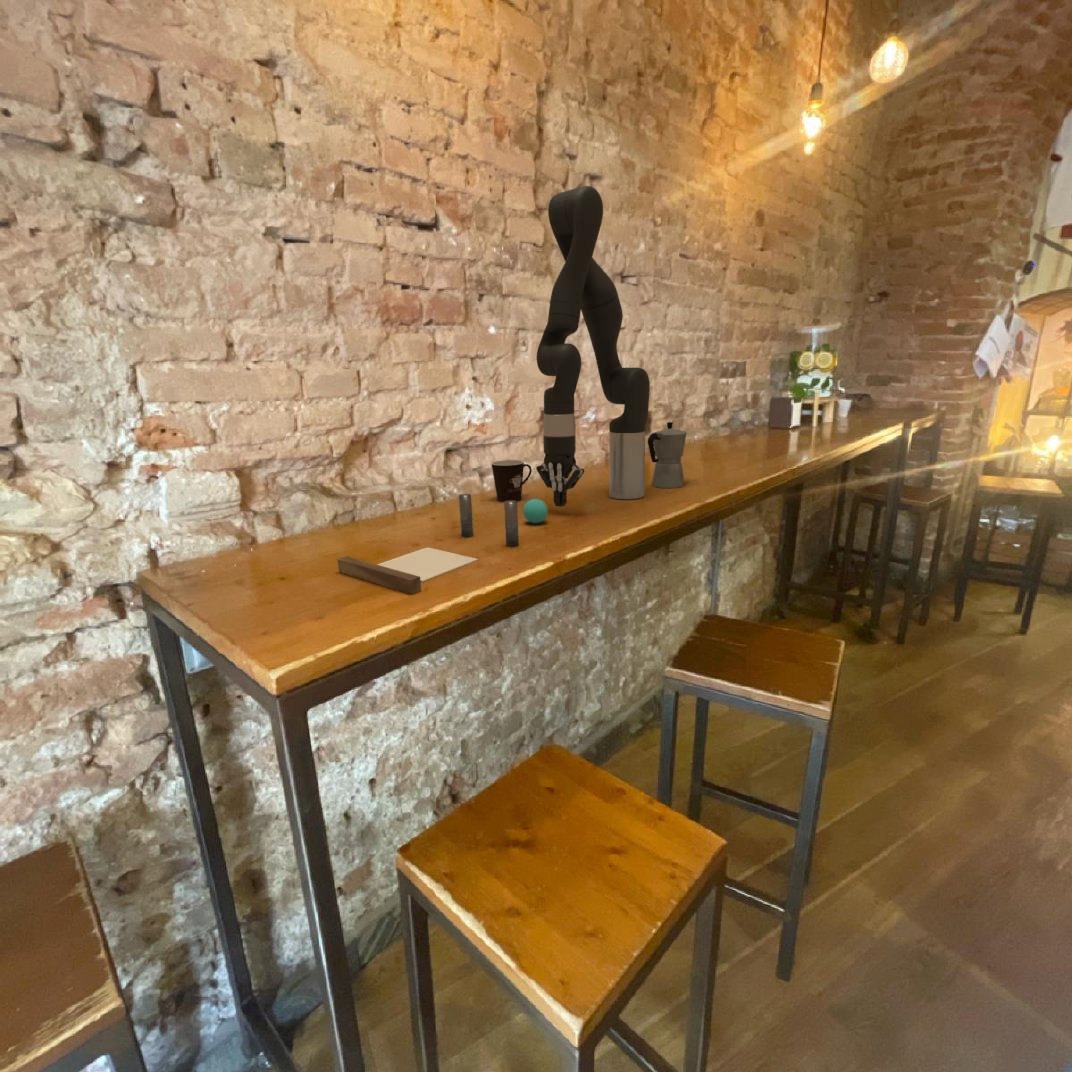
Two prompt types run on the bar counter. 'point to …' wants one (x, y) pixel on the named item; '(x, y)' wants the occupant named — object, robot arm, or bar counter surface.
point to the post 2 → (511, 523)
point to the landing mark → (428, 563)
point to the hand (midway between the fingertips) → (560, 505)
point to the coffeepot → (667, 457)
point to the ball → (535, 511)
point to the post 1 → (466, 515)
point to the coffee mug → (509, 479)
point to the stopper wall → (380, 575)
